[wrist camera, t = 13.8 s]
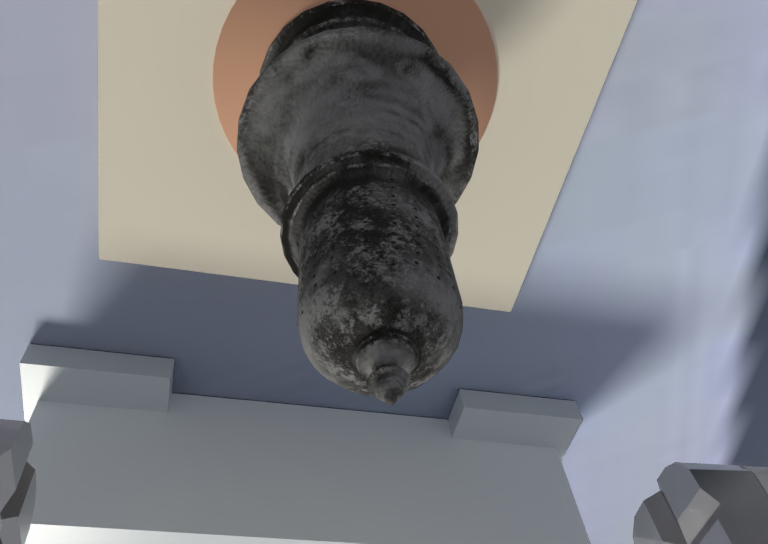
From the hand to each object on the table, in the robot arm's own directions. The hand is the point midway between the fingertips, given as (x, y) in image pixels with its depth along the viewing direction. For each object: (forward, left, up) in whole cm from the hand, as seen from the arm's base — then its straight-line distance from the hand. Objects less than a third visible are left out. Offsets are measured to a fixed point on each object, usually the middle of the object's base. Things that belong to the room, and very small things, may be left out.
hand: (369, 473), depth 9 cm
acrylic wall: (+2, -14, -14) cm, 20 cm away
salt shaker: (0, 0, -14) cm, 14 cm away
